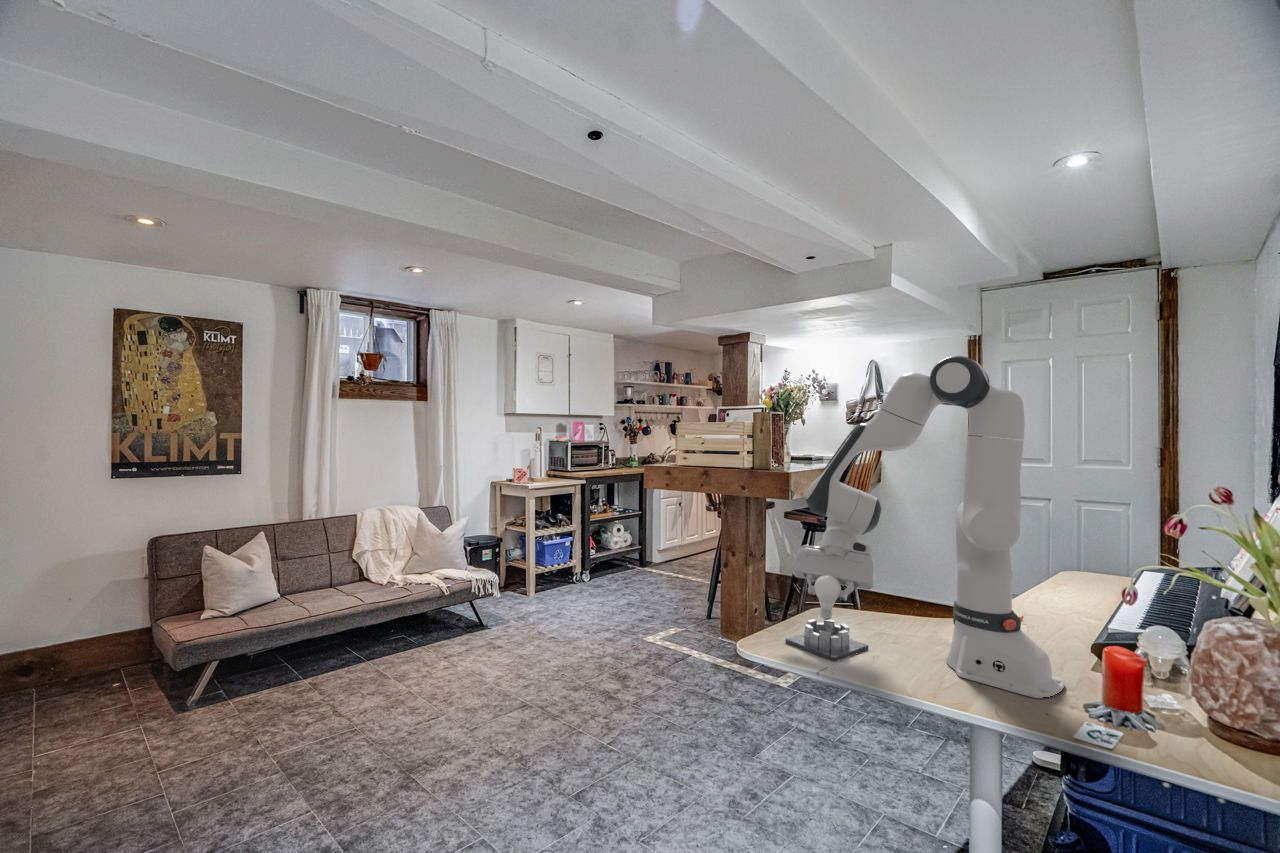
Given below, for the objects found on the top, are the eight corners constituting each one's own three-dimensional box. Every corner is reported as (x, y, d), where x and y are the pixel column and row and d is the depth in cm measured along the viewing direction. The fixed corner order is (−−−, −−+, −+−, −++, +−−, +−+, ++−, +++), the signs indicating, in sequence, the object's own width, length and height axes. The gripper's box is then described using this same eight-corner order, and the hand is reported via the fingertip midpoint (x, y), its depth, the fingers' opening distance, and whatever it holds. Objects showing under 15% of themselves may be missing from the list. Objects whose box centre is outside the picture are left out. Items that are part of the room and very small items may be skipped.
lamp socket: (868, 649, 146) (868, 628, 146) (833, 662, 137) (834, 640, 137) (820, 631, 157) (821, 613, 157) (785, 642, 149) (786, 622, 149)
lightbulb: (812, 621, 145) (815, 577, 145) (812, 613, 151) (814, 570, 151) (840, 625, 143) (842, 580, 143) (838, 617, 150) (840, 573, 149)
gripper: (796, 537, 158) (782, 581, 150) (877, 548, 148) (868, 597, 139) (800, 550, 162) (787, 595, 154) (879, 562, 151) (871, 610, 143)
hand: (826, 596), depth 147 cm, fingers closed on lightbulb, 6 cm apart
